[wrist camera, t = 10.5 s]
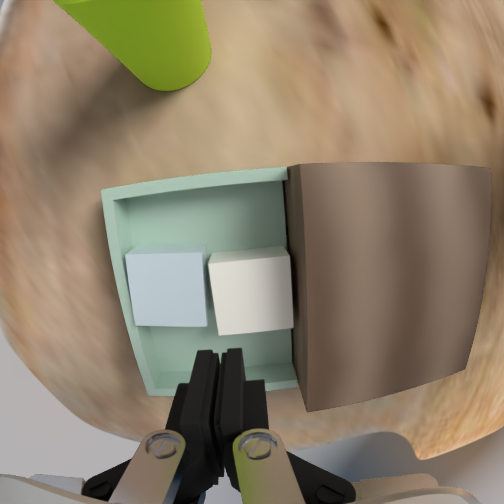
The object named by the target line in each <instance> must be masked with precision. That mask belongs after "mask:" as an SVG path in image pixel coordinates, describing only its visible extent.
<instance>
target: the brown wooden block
mask: <svg viewBox="0 0 504 504" xmlns="http://www.w3.org/2000/svg"><path fill="white" fill-rule="evenodd" d="M287 177H288V180H284V191H285V204H286V218H287V233H288V249H289V255H290V267H291V285H292V304H293V326H294V328H292V333H293V366H294V369H295V373H296V376H297V380H298V383H299V386H300V390H301V393H302V397H303V400H304V404H305V407H306V411H307V412H312V411H318V410H324V409H329V408H335V407H340V406H344V405H349V404H354V403H358V402H362V401H367V400H371V399H375V398H379V397H383V396H386V395H390V394H394V393H397V392H401V391H404V390H407V389H411V388H414V387H417V386H420V385H423V384H426V383H429V382H432V381H435V380H438V379H441V378H443V377H446V376H449V375H451V374H454V373H457V372H459V371H462V370H464V369H465V368H466V365H467V362H468V358H469V355H470V351H471V347H472V344H473V340H474V336H475V332H476V327H477V323H478V318H479V314H480V309H481V303H482V298H483V292H484V286H485V279H486V272H487V264H488V254H489V243H490V228H491V168H485V167H474V166H462V165H447V164H428V163H396V162H345V163H312V164H298V165H294V166H290V167H287Z"/></svg>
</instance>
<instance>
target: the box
mask: <svg viewBox="0 0 504 504" xmlns="http://www.w3.org/2000/svg"><path fill="white" fill-rule="evenodd" d="M282 180H288V177H287V167H275V168H261V169H249V170H238V171H227V172H218V173H209V174H200V175H192V176H184V177H176V178H169V179H162V180H155V181H149V182H142V183H136V184H130V185H124V186H118V187H113V188H107V189H102V190H101V194H102V203H103V211H104V218H105V225H106V231H107V238H108V244H109V249H110V255H111V260H112V265H113V270H114V275H115V280H116V285H117V289H118V294H119V298H120V302H121V306H122V311H123V315H124V318H125V322H126V326H127V330H128V333H129V337H130V341H131V344H132V347H133V351H134V354H135V357H136V361H137V364H138V367H139V370H140V373H141V376H142V379H143V382H144V385H145V388H146V391H147V394H148V396H175V393H176V389H177V386H178V384H179V383H189V381H190V377H191V373H192V369H193V365H194V361H195V358H196V354H197V351H198V350H210V349H212V350H213V353H218V355H219V360H220V364H221V356H222V353H223V352H227V349H228V348H242V352H243V360H244V367H245V375H246V381H247V380H260V379H264V380H265V391H272V390H281V389H289V388H296V387H297V378H296V374H295V371H294V367H293V364H292V345H291V328H288V329H280V330H272V331H263V332H253V333H243V334H232V335H221V336H219V334H218V328H217V321H216V315H215V308H214V302H213V295H212V288H211V281H210V274H209V266H208V282H209V298H210V313H209V318H208V323H207V327H176V326H136V325H135V320H134V314H133V308H132V302H131V296H130V289H129V282H128V274H127V266H126V258H125V254H126V253H128V252H129V251H131V250H132V249H134V248H135V247H136V246H138V245H156V244H191V243H206V245H207V265H208V263H209V260H210V257H211V254H212V253H216V252H226V251H236V250H246V249H256V248H266V247H276V246H284V248H285V249H286V251H287V242H286V226H285V212H284V198H283V186H282Z"/></svg>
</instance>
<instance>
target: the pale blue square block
mask: <svg viewBox="0 0 504 504" xmlns="http://www.w3.org/2000/svg"><path fill="white" fill-rule="evenodd" d="M125 258H126V266H127V274H128V282H129V289H130V296H131V302H132V308H133V314H134V320H135V325H136V326H176V327H207V323H208V318H209V313H210V298H209V282H208V265H207V245H206V243H191V244H156V245H138V246H136V247H135V248H134V249H132V250H131V251H129V252H128V253H126V254H125Z"/></svg>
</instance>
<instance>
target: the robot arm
mask: <svg viewBox="0 0 504 504" xmlns="http://www.w3.org/2000/svg"><path fill="white" fill-rule="evenodd" d="M224 468H225V469H226V472H227V475H228V477H229V478H230V482H231V485H232V487H233V488H235V489H236V490H238V491H239V492H240V493H241V496H242V501H243V504H481V503H480V501H479V500H478V499H477V498H476V497H475V496H474V495H473V494H471V493H470V492H468V491H466V490H464V489H461V488H455V487H439V485H438V483H437V481H436V479H435V478H434V477H432V476H431V475H428V474H425V473H417V474H411V475H404V476H397V477H387V478H376V479H363V480H361V482H356V483H350V482H348V481H347V480H345V479H343V478H341V477H338V476H336V475H334V474H332V473H330V472H328V471H325V470H323V469H321V468H319V467H317V466H315V465H313V464H311V463H309V462H307V461H305V460H303V459H301V458H299V457H297V456H295V455H293V454H291V453H290V452H288V451H286V450H285V447H284V444H283V441H282V439H281V438H280V436H279V435H278V434H276V433H275V432H273V431H271V430H269V425H268V414H267V403H266V392H265V380H264V379H260V380H247V381H246V375H245V367H244V360H243V352H242V348H228V349H227V352H223V353H222V356H221V364H220V360H219V355H218V353H213V350H212V349H210V350H198V351H197V354H196V358H195V361H194V365H193V369H192V373H191V377H190V381H189V383H179V384H178V386H177V389H176V393H175V396H174V400H173V403H172V407H171V410H170V413H169V417H168V420H167V424H166V428H165V430H157V431H154V432H152V433H150V434H148V435H147V436H146V437H145V438H144V439H143V440H142V441H141V443H140V445H139V447H138V449H137V451H136V452H135V454H134V456H133V458H131V459H130V460H128V461H125V462H123V463H121V464H119V465H117V466H115V467H113V468H111V469H109V470H107V471H105V472H102V473H100V474H98V475H96V476H94V477H92V478H90V479H89V480H87V481H85V480H84V479H83V478H74V477H62V476H52V475H43V474H36V475H33V476H31V477H30V478H25V477H21V476H15V475H7V474H6V475H5V474H0V504H204V501H205V496H206V492H205V491H206V490H208V489H209V488H211V487H212V486H213V485H218V477H224Z"/></svg>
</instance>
